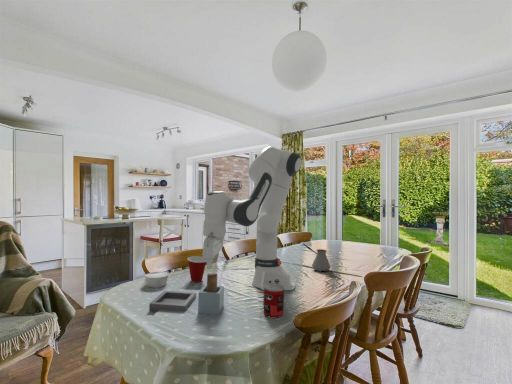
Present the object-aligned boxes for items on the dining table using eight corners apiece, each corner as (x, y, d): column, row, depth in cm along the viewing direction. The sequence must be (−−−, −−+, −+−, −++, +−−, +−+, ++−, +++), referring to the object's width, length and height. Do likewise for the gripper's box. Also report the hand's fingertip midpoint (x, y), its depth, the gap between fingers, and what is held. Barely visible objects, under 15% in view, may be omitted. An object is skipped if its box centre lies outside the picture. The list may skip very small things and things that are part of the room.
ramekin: (160, 279, 151) (160, 270, 151) (172, 284, 144) (172, 274, 144) (140, 284, 143) (140, 274, 143) (152, 290, 136) (152, 279, 135)
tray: (196, 299, 126) (196, 292, 126) (184, 313, 111) (185, 305, 111) (164, 297, 127) (164, 290, 127) (149, 311, 112) (149, 303, 112)
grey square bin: (223, 308, 117) (224, 286, 117) (219, 316, 109) (219, 293, 109) (203, 306, 118) (204, 285, 118) (197, 315, 110) (198, 292, 110)
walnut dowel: (217, 307, 115) (218, 273, 115) (214, 311, 111) (216, 276, 111) (207, 306, 116) (208, 272, 116) (205, 310, 112) (206, 275, 112)
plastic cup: (202, 284, 145) (203, 261, 145) (183, 282, 148) (183, 259, 148) (210, 278, 156) (210, 256, 156) (191, 276, 158) (192, 255, 158)
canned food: (262, 309, 117) (263, 283, 117) (281, 309, 117) (282, 283, 117) (264, 318, 109) (265, 289, 109) (284, 318, 110) (285, 289, 110)
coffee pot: (333, 270, 179) (334, 247, 179) (323, 274, 171) (324, 249, 171) (306, 263, 195) (307, 242, 195) (296, 266, 187) (296, 244, 187)
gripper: (216, 235, 103) (214, 273, 103) (226, 228, 123) (224, 260, 123) (199, 234, 103) (197, 272, 103) (212, 227, 123) (210, 258, 123)
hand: (212, 265), depth 113 cm, fingers open, 8 cm apart
